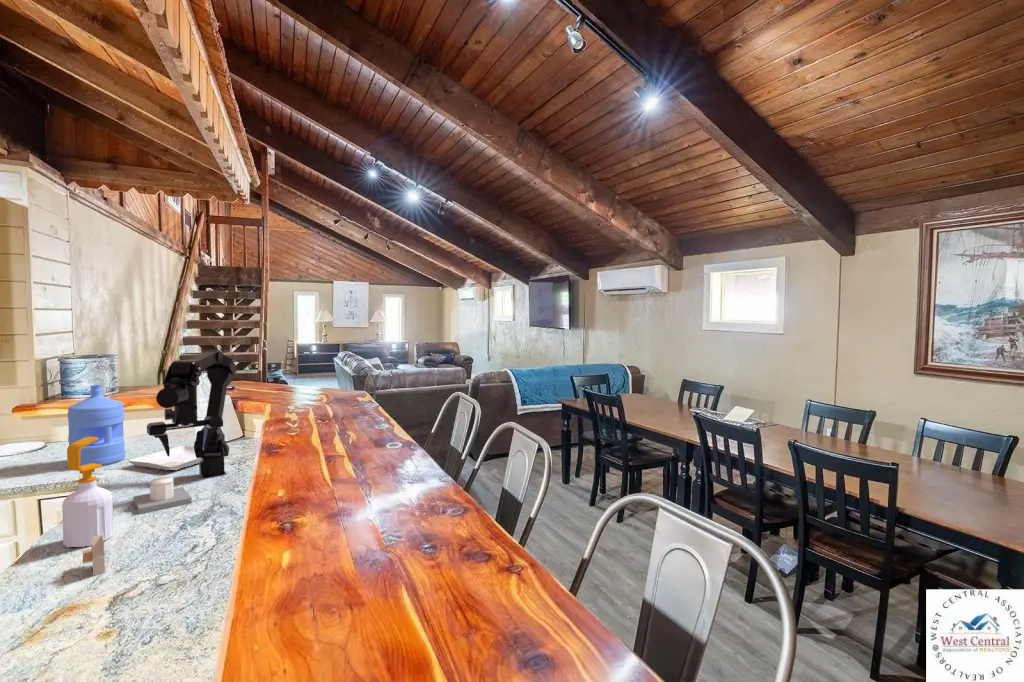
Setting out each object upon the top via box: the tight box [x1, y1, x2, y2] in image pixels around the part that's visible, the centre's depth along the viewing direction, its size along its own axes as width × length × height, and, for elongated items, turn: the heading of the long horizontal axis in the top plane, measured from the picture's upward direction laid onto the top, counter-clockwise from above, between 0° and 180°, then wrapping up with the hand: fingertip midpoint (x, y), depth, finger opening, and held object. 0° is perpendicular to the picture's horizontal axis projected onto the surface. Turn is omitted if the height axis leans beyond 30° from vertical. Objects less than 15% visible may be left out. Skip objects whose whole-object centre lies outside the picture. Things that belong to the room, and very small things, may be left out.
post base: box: [132, 486, 192, 515], centre depth 141 cm, size 12×12×6 cm
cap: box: [149, 476, 175, 501], centre depth 141 cm, size 5×5×5 cm
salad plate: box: [128, 444, 201, 471], centre depth 179 cm, size 21×21×3 cm
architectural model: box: [82, 531, 106, 577], centre depth 104 cm, size 3×7×7 cm, turn 41°
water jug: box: [67, 384, 126, 467], centre depth 178 cm, size 16×16×28 cm
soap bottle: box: [61, 436, 114, 548], centre depth 116 cm, size 9×9×25 cm
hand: (186, 453), depth 149 cm, fingers open, 9 cm apart
